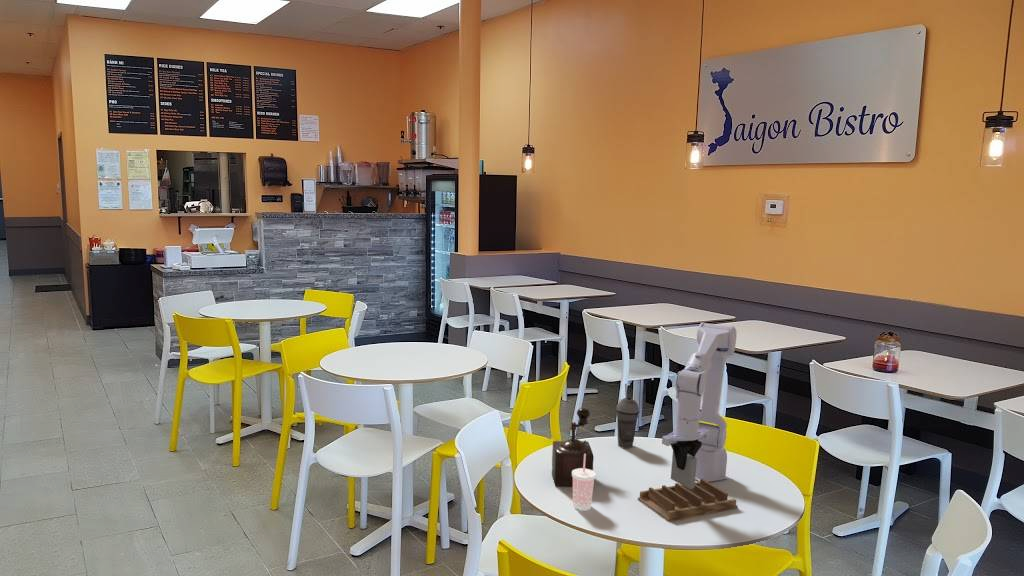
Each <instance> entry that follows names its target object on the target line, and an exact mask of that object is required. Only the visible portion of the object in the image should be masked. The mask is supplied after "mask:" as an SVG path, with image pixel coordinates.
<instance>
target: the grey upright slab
mask: <svg viewBox="0 0 1024 576" xmlns="http://www.w3.org/2000/svg"><path fill="white" fill-rule="evenodd" d="M696 465H697V458H696V457H694V456H692V455H690V454H687V458H686V465H685V469H684V470H681V469H679V468H677V464H676V459H675V455H674V452H673V451H672V460H671V468H670V469H671V471H670V479H671V480H672V481H674V482H675V483H678V484H680V485H683V486H685V487H687V488H688V489H693V488H694V487H695V482H696V480H695V476H696Z"/></svg>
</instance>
